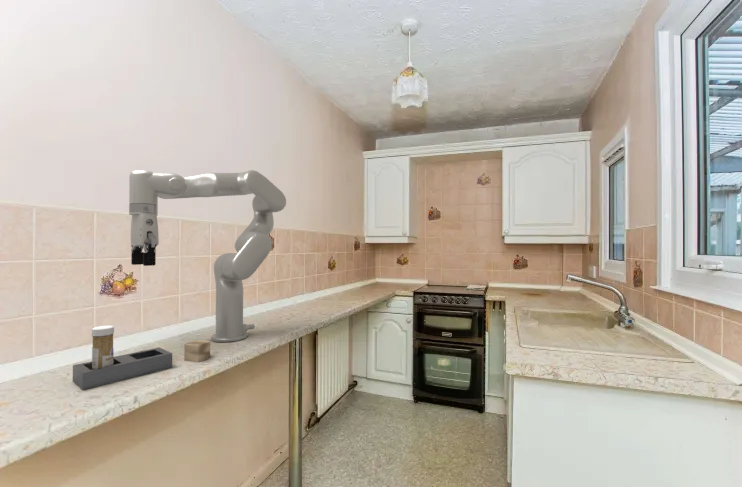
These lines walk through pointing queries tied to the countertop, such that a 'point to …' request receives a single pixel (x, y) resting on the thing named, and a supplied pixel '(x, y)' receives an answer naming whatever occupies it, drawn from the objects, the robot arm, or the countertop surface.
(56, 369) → the countertop surface
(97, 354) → the sprinkles bottle
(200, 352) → the block
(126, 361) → the grey compartment tray
